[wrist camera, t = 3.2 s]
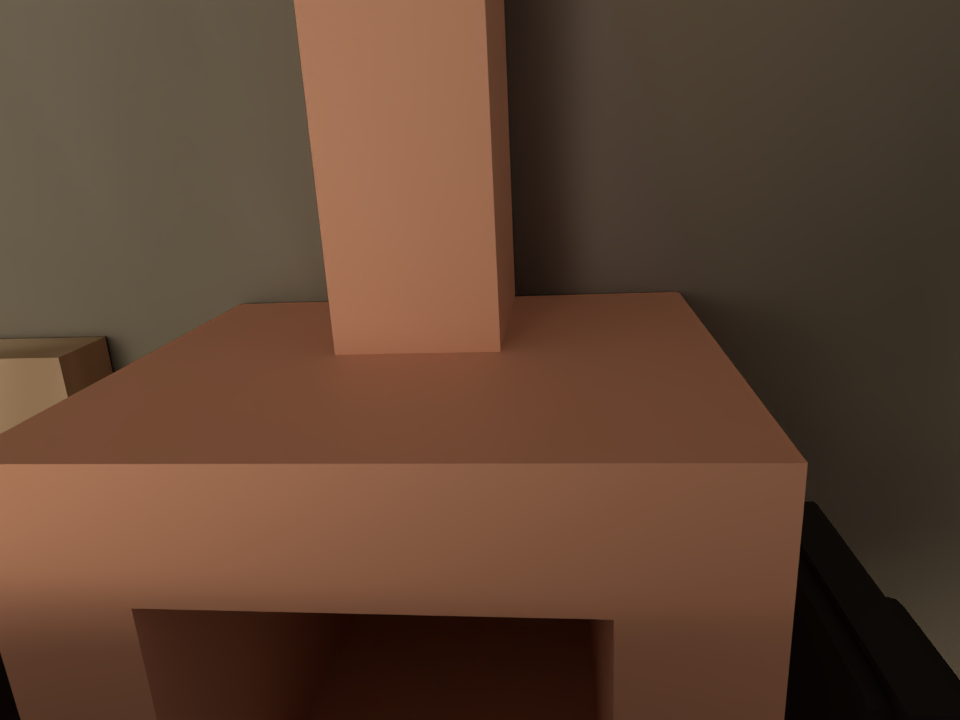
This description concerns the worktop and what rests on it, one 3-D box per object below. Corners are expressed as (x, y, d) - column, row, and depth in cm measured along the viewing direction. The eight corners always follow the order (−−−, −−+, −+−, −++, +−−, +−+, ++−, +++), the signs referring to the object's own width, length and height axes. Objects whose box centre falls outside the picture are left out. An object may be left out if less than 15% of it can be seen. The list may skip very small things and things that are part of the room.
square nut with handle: (666, 669, 13) (750, 1085, 7) (295, 658, 14) (112, 1024, 8) (691, -124, 9) (898, -523, 4) (182, -76, 10) (-299, -345, 4)
